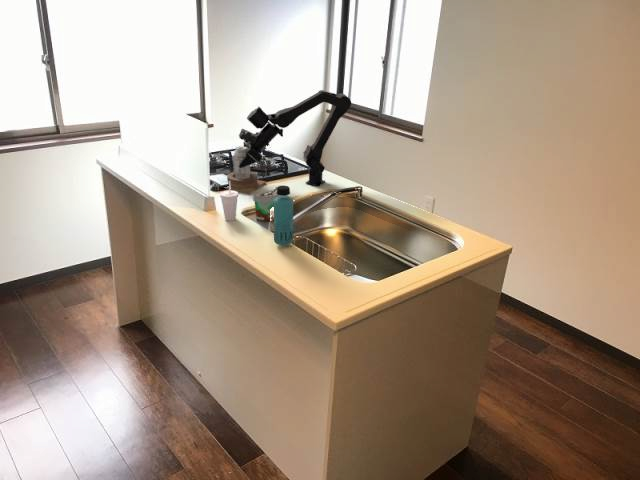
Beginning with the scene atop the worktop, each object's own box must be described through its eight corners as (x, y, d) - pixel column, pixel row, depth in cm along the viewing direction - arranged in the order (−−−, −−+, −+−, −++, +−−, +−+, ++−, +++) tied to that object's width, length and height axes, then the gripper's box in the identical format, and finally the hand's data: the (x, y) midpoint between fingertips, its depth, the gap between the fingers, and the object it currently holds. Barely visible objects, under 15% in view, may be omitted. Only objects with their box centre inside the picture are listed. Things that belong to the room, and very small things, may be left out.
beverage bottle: (278, 251, 167) (277, 191, 158) (270, 242, 172) (269, 184, 164) (296, 247, 170) (297, 188, 161) (288, 239, 175) (288, 182, 167)
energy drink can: (253, 183, 220) (252, 147, 214) (243, 186, 215) (241, 150, 209) (242, 180, 223) (241, 145, 217) (232, 183, 218) (230, 148, 212)
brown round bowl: (237, 178, 228) (236, 168, 226) (265, 183, 223) (265, 173, 221) (218, 188, 216) (218, 177, 214) (248, 194, 211) (248, 183, 209)
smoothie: (242, 217, 190) (241, 180, 184) (232, 223, 185) (231, 185, 179) (227, 214, 193) (226, 177, 187) (217, 220, 188) (215, 182, 181)
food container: (266, 226, 184) (266, 199, 180) (253, 221, 187) (252, 195, 183) (289, 215, 193) (289, 190, 189) (276, 211, 196) (276, 186, 192)
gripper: (248, 117, 217) (222, 144, 220) (252, 128, 201) (224, 157, 203) (268, 135, 222) (242, 161, 225) (273, 148, 206) (245, 176, 208)
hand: (238, 163), depth 215 cm, fingers open, 9 cm apart
